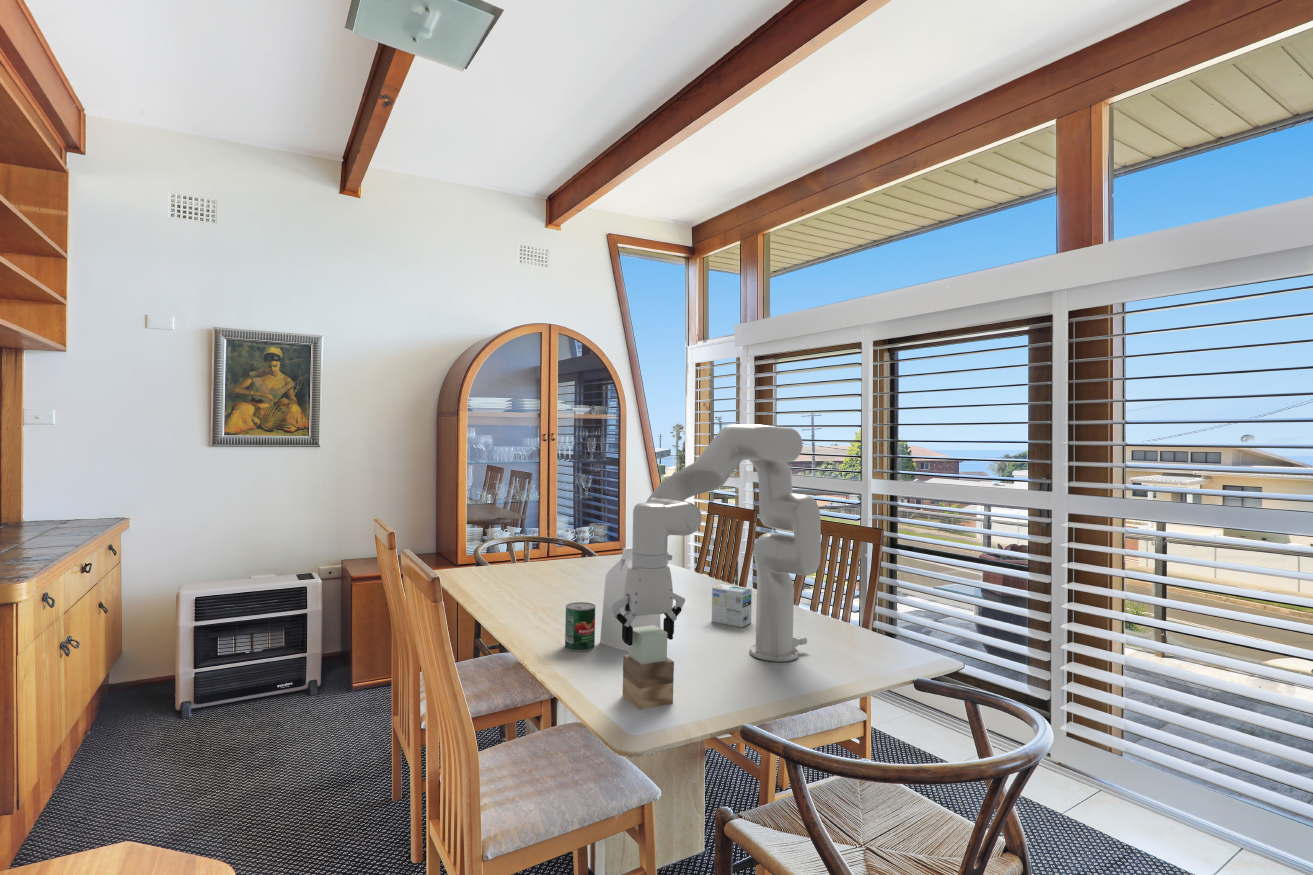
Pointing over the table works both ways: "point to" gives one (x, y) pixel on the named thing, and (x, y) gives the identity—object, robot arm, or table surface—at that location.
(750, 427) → the robot arm
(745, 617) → the light bulb box
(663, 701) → the oak slab
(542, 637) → the table surface
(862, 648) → the table surface
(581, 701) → the table surface
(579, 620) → the canned tomato
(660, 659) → the sage cube
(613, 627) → the milk
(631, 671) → the walnut slab
